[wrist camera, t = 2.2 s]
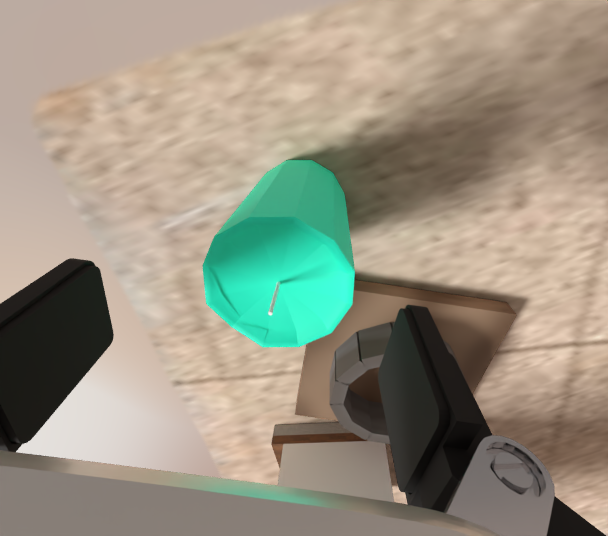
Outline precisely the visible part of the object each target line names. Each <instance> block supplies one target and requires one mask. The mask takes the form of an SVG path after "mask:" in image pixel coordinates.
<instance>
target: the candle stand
mask: <svg viewBox="0 0 608 536" xmlns="http://www.w3.org/2000/svg"><path fill="white" fill-rule="evenodd" d="M408 304H409V305H416V306H423V307H427V308H428V310H429V312H430V314H431V316H432V318H433V320H434V322H435V324H436V326H437V328H438V331H439V333H440V335H441V337H442V339H443V341H444V343H445V345H446V347H447V349H448V352H449V353H451V354H452V355H453V356H454V358H455V360H456V362H457V364H458V366H459V368H460V370H461V372H462V374H463V376H464V378H465V380H466V382H467V384H468V386H469V388H470V390H471V392H472V394H473V392H474V390H475V388H476V387H477V385H478V383H479V381H480V380H481V378H482V376H483V374H484V372H485V371H486V369H487V367H488V365H489V364H490V362H491V360H492V358H493V356H494V355H495V353H496V351H497V349H498V347H499V346H500V344H501V342H502V340H503V339H504V337H505V335H506V333H507V331H508V330H509V328H510V326H511V324H512V323H513V321H514V319H515V317H516V315H517V314H516V313H515V312H514V311H513V309H512V308H511V307H510V306H509V305H508V303H507V302H500V301H494V300H487V299H480V298H474V297H467V296H460V295H454V294H447V293H440V292H434V291H427V290H420V289H413V288H407V287H400V286H393V285H387V284H380V283H373V282H367V281H360V280H354V290H353V303H352V306H351V307H350V309H349V310H348V311H347V313H346V314H345V315H344V317H343V318H342V320H341V321H340V322H339V324H338V325H337V326H336V328H335V329H334V331H333V332H332V333H330V334H328V335H326V336H323V337H321V338H319V339H316V340H314V341H312V342H309V343H307V345H306V350H305V356H304V362H303V368H302V373H301V379H300V385H299V391H298V396H297V403H296V412H295V415H302V416H308V417H315V418H321V419H328V420H335V421H338V422H339V423H340V425H342V427H343V428H345V429H347V430H349V431H350V432H352V433H354V434H355V435H357V436H359V437H361V438H362V439H364V440H366V439H367V441H372V442H379V443H385V444H390V440H389V435H388V430H387V424H386V419H385V414H384V408H383V403H382V398H381V393H380V387H379V382H378V372H379V368H380V365H381V362H382V359H383V356H384V353H385V350H386V347H387V344H388V341H389V338H390V335H391V332H392V329H393V326H394V323H395V320H396V317H397V314H398V312H399V310H400V309H401V308H404V309H405V307H406V306H407V305H408Z"/></svg>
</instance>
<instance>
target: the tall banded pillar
mask: <svg viewBox="0 0 608 536" xmlns="http://www.w3.org/2000/svg"><path fill="white" fill-rule="evenodd" d="M272 447H273V450H274V453H275V456H276V459H277V462H278V464H279V467H280V472H279V479H278V486H284V487H291V488H299V489H306V490H314V491H321V492H329V493H336V494H343V495H349V496H356V497H362V498H369V499H375V500H382V501H389V502H394V497H393V491H392V484H391V478H390V471H389V465H388V458H387V452H386V445H385V443H379V442H372V441H367V439H366V440H364V439H362V438H361V437H359V436H357V435H355V434H354V433H352V432H350V431H349V430H347V429H345V428H343V427H342V425H340V423H339V422H332V423H309V424H286V425H275V427H274V433H273V438H272Z"/></svg>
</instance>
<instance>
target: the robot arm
mask: <svg viewBox="0 0 608 536" xmlns="http://www.w3.org/2000/svg"><path fill="white" fill-rule="evenodd" d="M112 340H113V329H112V324H111V319H110V315H109V310H108V305H107V300H106V296H105V291H104V286H103V282H102V277H101V273H100V269H99V268H98V267H96V266H95V264H94V263H93V262H92V261H88V260H80V259H68V260H66V261H64V262H63V263H61V264H60V265H58V266H57V267H55V268H54V269H52V270H51V271H49V272H48V273H46V274H45V275H43V276H42V277H40V278H39V279H37V280H36V281H34V282H33V283H31V284H30V285H28V286H27V287H25V288H24V289H22V290H20V291H19V292H18V293H16V294H15V295H13V296H11V297H10V298H9V299H7V300H5V301H4V302H2V303H1V304H0V536H606V535H605V534H603V533H602V532H601V531H599V530H598V529H597V528H595V527H594V526H593V525H591V524H590V523H589V522H588V521H586V520H585V519H584V518H582V517H581V516H580V515H578V514H577V513H576V512H575V511H573V510H572V509H571V508H569V507H568V506H567V505H565V504H564V503H563V502H561V501H560V500H559V499H558V498H556V497H555V492H554V484H553V481H552V478H551V476H550V474H549V472H548V471H547V469H546V468H545V466H544V465H543V463H542V462H541V461H540V460H539V459H538V458H537V457H536V456H535V455H534V454H533V453H532V452H531V451H529V450H528V449H527V448H526V447H524V446H523V445H521V444H519V443H518V442H516V441H514V440H512V439H509V438H506V437H503V436H495V435H492V433H491V431H490V429H489V427H488V425H487V423H486V421H485V419H484V417H483V415H482V413H481V411H480V409H479V407H478V405H477V402H476V400H475V398H474V396H473V394H472V392H471V390H470V388H469V386H468V384H467V382H466V380H465V378H464V376H463V374H462V372H461V370H460V368H459V366H458V364H457V362H456V360H455V358H454V356H453V355H452V354H451V353H449V352H448V349H447V347H446V345H445V343H444V341H443V339H442V337H441V335H440V333H439V331H438V328H437V326H436V324H435V322H434V320H433V318H432V316H431V314H430V312H429V310H428V308H427V307H423V306H416V305H409V304H408V305H407V306H406V307H405V309H404V308H401V309H400V310H399V312H398V314H397V317H396V320H395V323H394V326H393V329H392V332H391V335H390V338H389V341H388V344H387V347H386V350H385V353H384V356H383V359H382V362H381V365H380V368H379V372H378V382H379V387H380V393H381V398H382V403H383V408H384V414H385V419H386V424H387V430H388V435H389V440H390V446H391V451H392V456H393V462H394V467H395V472H396V478H397V483H398V487H399V490H400V491H401V492H405V494H406V498H407V503H408V505H406V504H402V503H395V502H389V501H382V500H375V499H369V498H362V497H356V496H349V495H343V494H336V493H329V492H321V491H314V490H306V489H299V488H291V487H284V486H276V485H269V484H261V483H254V482H246V481H239V480H231V479H224V478H216V477H208V476H200V475H192V474H185V473H177V472H169V471H161V470H153V469H146V468H137V467H129V466H122V465H114V464H106V463H98V462H90V461H82V460H74V459H65V458H57V457H49V456H41V455H32V454H23V453H16V451H17V450H18V448H19V447H20V446H21V445H22V444H24V443H27V442H28V441H30V440H31V439H32V438H33V437H34V436H35V434H36V433H37V432H38V431H39V430H40V428H41V427H42V426H43V425H44V424H45V422H46V421H47V420H48V419H49V418H50V416H51V415H52V414H53V413H54V412H55V410H56V409H57V408H58V407H59V406H60V404H61V403H62V402H63V401H64V400H65V399H66V397H67V396H68V395H69V394H70V393H71V391H72V390H73V389H74V388H75V387H76V385H77V384H78V383H79V381H80V380H81V379H82V378H83V377H84V376H85V375H86V373H87V372H88V371H89V370H90V368H91V367H92V366H93V365H94V364H95V363H96V361H97V360H98V359H99V358H100V357H101V355H102V354H103V353H104V352H105V351H106V349H107V348H108V347H109V346H110V344H111V343H112Z"/></svg>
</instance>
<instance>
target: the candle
mask: <svg viewBox="0 0 608 536" xmlns="http://www.w3.org/2000/svg"><path fill="white" fill-rule="evenodd" d="M203 275H204V285H205V296H206V304H207V305H208V306H209V307H210V308H212V309H213V310H214V311H215V312H216V313H217V314H218V315H219V316H220V317H221V318H222V319H223V320H225V321H226V322H227V323H228V324H229V325H230V326H231V327H232V328H234V329H236V330H237V331H239V332H240V333H242V334H243V335H245V336H246V337H248V338H249V339H251V340H252V341H254V342H256V343H257V344H259V345H260V346H262V347H300V346H302V345H305V344H307V343H309V342H312V341H314V340H316V339H319V338H321V337H323V336H326V335H328V334H330V333H332V332H333V331H334V329H335V328H336V326H337V325H338V324H339V322H340V321H341V320H342V318H343V317H344V315H345V314H346V313H347V311H348V310H349V309H350V307H351V306H352V303H353V290H354V278H355V269H354V261H353V253H352V246H351V238H350V231H349V223H348V216H347V208H346V200H345V194H344V192H343V190H342V188H341V186H340V184H339V183H338V181H337V179H336V177H335V175H334V173H333V172H331V171H330V170H328V169H326V168H324V167H323V166H321V165H319V164H318V163H316V162H314V161H313V160H286V161H284V162H283V163H281V164H280V165H278V166H276V167H275V168H273V169H272V170H270V171H268V172H267V173H266V174H265V175H264V176H263V178H262V179H261V180H260V181H259V182H258V184H257V185H256V186H255V187H254V189H253V190H252V191H251V192H250V194H249V195H248V196H247V197H246V198H245V200H244V201H243V202H242V203H241V205H240V206H239V207H238V208H237V209H236V211H235V212H234V213H233V214H232V216H231V217H230V218H229V219H228V220H227V222H226V223H225V224H224V225H223V227H222V228H221V229H220V230H219V232H218V233H217V234H216V235H215V236H214V239H213V241H212V243H211V246H210V248H209V251H208V253H207V256H206V258H205V261H204V263H203Z"/></svg>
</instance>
